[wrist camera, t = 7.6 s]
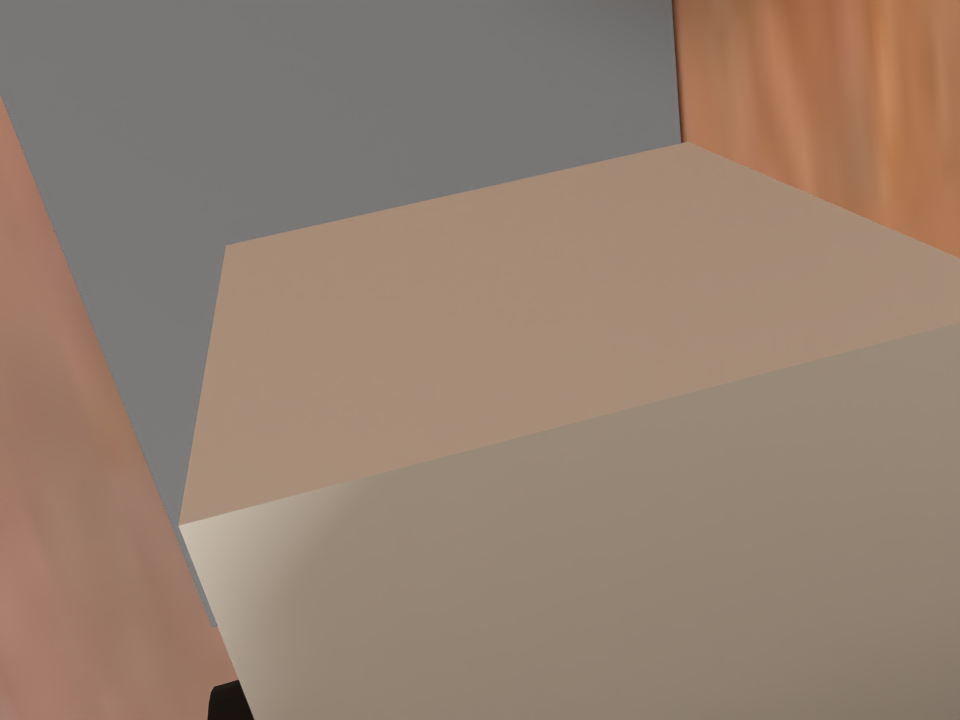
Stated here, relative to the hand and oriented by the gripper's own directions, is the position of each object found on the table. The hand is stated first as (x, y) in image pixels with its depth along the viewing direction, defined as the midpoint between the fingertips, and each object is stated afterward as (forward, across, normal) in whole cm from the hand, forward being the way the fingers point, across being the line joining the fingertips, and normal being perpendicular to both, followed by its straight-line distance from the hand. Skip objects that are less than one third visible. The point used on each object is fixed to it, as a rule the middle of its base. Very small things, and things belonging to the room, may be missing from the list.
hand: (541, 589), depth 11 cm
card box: (0, 0, 0) cm, 0 cm away
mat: (+14, 0, 0) cm, 14 cm away
